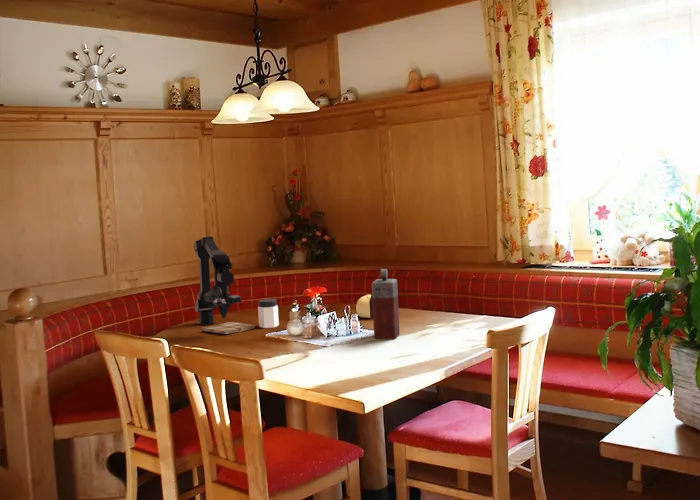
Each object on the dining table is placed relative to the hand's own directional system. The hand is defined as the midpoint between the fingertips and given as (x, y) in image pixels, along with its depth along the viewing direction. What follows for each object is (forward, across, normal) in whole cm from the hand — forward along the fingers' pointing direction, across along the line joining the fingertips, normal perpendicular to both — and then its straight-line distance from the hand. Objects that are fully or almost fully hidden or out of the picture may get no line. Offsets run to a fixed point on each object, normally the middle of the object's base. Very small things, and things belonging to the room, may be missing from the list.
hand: (223, 317), depth 336 cm
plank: (+7, -6, +3) cm, 9 cm away
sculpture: (+8, +34, +59) cm, 68 cm away
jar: (+8, +5, +22) cm, 24 cm away
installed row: (+7, -6, +12) cm, 15 cm away
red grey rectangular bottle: (+8, +65, +30) cm, 72 cm away
